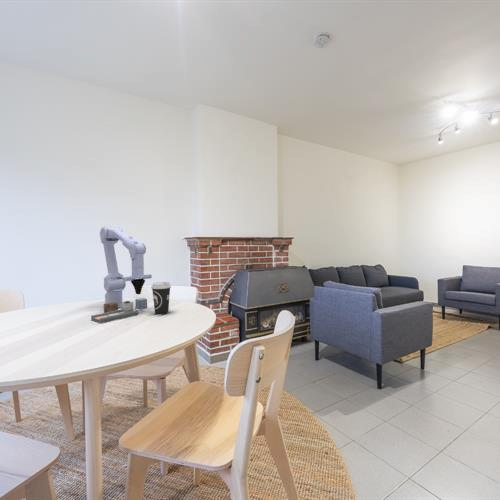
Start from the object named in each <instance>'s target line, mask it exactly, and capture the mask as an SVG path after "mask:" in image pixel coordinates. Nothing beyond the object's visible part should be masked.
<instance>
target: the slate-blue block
mask: <svg viewBox="0 0 500 500" xmlns="http://www.w3.org/2000/svg"><path fill="white" fill-rule="evenodd" d="M135 309H136V310H143V309H148V299H147V298H146V297H141V298H135Z"/></svg>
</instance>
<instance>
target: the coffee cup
mask: <svg viewBox="0 0 500 500" xmlns="http://www.w3.org/2000/svg"><path fill="white" fill-rule="evenodd" d="M150 288H151V289H152V290H151V291H152V297H153V298H152V299H153V307H154V310H153V311H154V314H155V315H157V314H162V315H167V314H169V308H170V307H169V306H170V294H171V288H172V286H171V284H170V282H167V281H165V282H164V281H163V282H161V281H160V282H153V283H152V285H151V287H150Z"/></svg>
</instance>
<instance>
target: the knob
mask: <svg viewBox="0 0 500 500" xmlns="http://www.w3.org/2000/svg"><path fill="white" fill-rule="evenodd" d="M122 302H123V303H121V307H120V310H121V312H123V313H127V312H131V311H134V302H132V301H130V300H126V301H122Z"/></svg>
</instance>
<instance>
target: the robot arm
mask: <svg viewBox="0 0 500 500" xmlns="http://www.w3.org/2000/svg"><path fill="white" fill-rule="evenodd" d="M99 237H100V243H101V244H102V245H103V251H104V255H105V262H106V267H107V268H106V269H107V275H106V276H105V277H104V278H103V289H104V290H105V294H104V304H106V303H110V302H115V303H118V309H119V308H120V309H121V303H123V302H124V301H123V291H124V290H125V288H126V285H127V284H126V283H127V282H130V283H131V284H132V286H133V288H134V293H135V295H141V294H142V289H143V286H144V284H145V282H146V280H147V279H152V278H153V277H152V274H145V272H144V271H145V269H144V268H145V266H144V265H145V263H144V255H145V254H146V251H147V247H146V245H145V244H144V243H139V242H138V241H137V240H135V239H134V238H133V237H132V236H127V235H126V234H125V233H124V232H123V228H121V227H112V226H109V227H108V226H107V227H106V226H103V227H101V229H100V231H99ZM119 241H120V242H122V245H123V247H124V248H126V249H127V250H128V252H129V256H130V259H131V275H130V276H124V275H123V274H121V273H120V272H119V268H118V261H117V256H116V250H115V244H117V243H118V242H119Z"/></svg>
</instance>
